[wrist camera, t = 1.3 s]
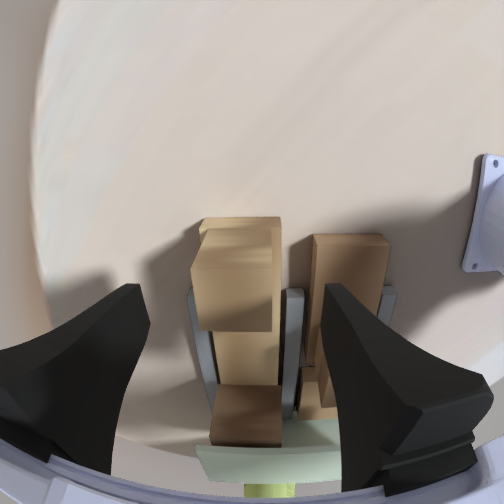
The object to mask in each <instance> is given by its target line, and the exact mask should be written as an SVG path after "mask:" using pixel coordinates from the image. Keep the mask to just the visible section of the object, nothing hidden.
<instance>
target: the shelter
mask: <svg viewBox="0 0 504 504" xmlns="http://www.w3.org/2000/svg"><path fill="white" fill-rule="evenodd" d="M195 452H196V454H197V456H198V458H199V460H200V462H201V464H202V466H203V469H204V470H205V473H206V475H207V476H208V478H209V480H210V481H215V482H229V483H246V484H289V483H307V482H320V481H329V480H338V479H342V477H341V447H340V434H339V422H338V418H334V419H322V420H306V421H297V411H293V415H292V419H282V447H281V448H242V447H223V446H210V445H199V444H196V447H195Z"/></svg>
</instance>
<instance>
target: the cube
mask: <svg viewBox="0 0 504 504" xmlns="http://www.w3.org/2000/svg"><path fill="white" fill-rule="evenodd" d="M209 438H210V441H211V444H212V446H223V447H242V448H281V447H282V397H281V385H226V384H218V385H217V391H216V397H215V403H214V409H213V415H212V422H211V428H210V434H209Z"/></svg>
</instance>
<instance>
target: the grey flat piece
mask: <svg viewBox="0 0 504 504" xmlns="http://www.w3.org/2000/svg"><path fill="white" fill-rule="evenodd" d="M396 298H397V292H396V291H395V289H394V287H393V286H392V285H389V286H383V288H382V293H381V297H380V302H379V306H378V310H377V314H376V317H377V318H378V319H379V320H381V321H382V322H383V323H384V324H386V325H387V326H388V327H389V323H390V320H391V317H392V313H393V309H394V306H395V302H396ZM304 300H305V297H304V291H303V288H292V289H286V309H285V334H284V354H283V373H282V390H281V397H282V419H292V415H293V407H294V400H295V391H296V383H297V374H298V365H299V356H300V346H301V335H302V324H303V313H304ZM187 303H188V309H189V314H190V319H191V324H192V329H193V334H194V339H195V344H196V348H197V353H198V357H199V362H200V366H201V371H202V375H203V379H204V383H205V388H206V392H207V396H208V400H209V404H210V408H211V412H212V415H213V409H214V403H215V397H216V391H217V385H218V384H221V382H220V376H219V370H218V364H217V358H216V352H215V346H214V340H213V333H212V331H200V326H199V320H198V315H197V309H196V303H195V297H194V291H193V289H191V288H190V290H189V293H188V295H187ZM334 418H338V413H337V407H332V408H321V403H320V396H319V388H318V381H317V374H316V368H315V367H302V370H301V378H300V385H299V393H298V400H297V421H306V420H322V419H334Z"/></svg>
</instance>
